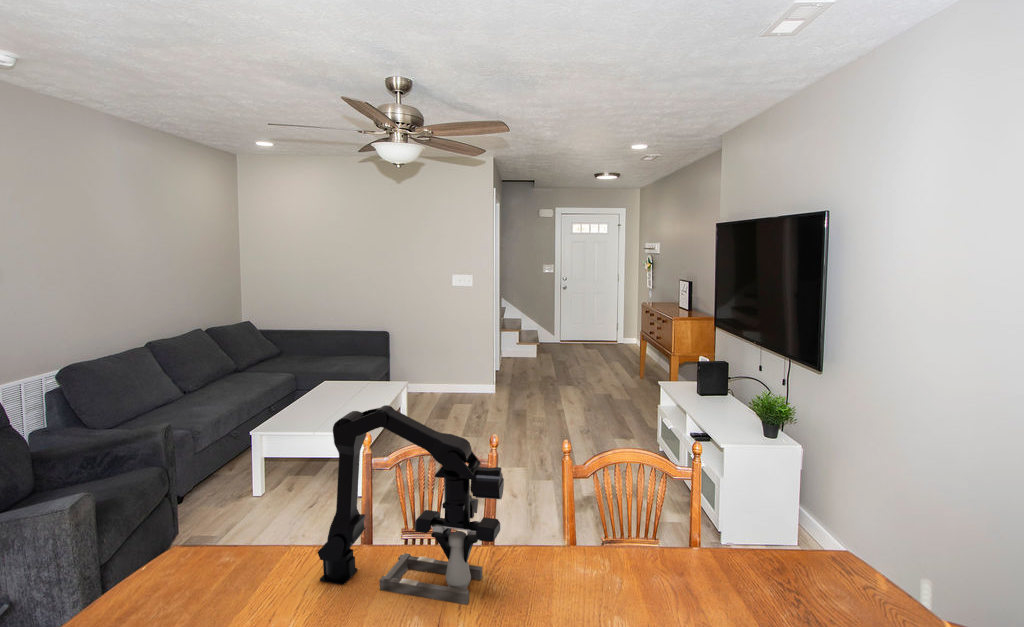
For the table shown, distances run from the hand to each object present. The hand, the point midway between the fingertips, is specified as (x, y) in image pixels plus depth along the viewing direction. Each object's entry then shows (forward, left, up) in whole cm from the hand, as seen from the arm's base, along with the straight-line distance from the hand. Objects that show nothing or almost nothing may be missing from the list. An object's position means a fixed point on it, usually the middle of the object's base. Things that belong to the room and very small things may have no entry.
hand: (458, 560), depth 130 cm
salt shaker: (0, 0, -7) cm, 7 cm away
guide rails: (-6, 0, -6) cm, 9 cm away
